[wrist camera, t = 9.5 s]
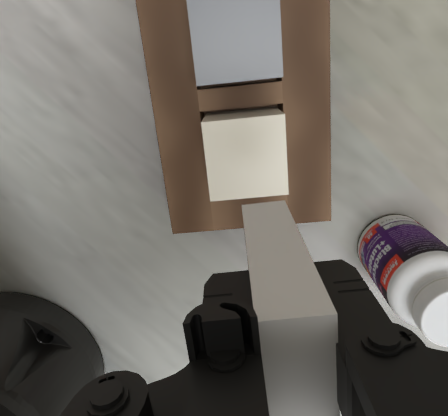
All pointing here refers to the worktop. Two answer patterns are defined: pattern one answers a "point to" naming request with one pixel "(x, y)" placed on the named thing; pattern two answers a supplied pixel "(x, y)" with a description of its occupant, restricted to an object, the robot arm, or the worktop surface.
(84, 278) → the worktop surface
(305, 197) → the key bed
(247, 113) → the cream cube
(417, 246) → the pill bottle
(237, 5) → the slate key
